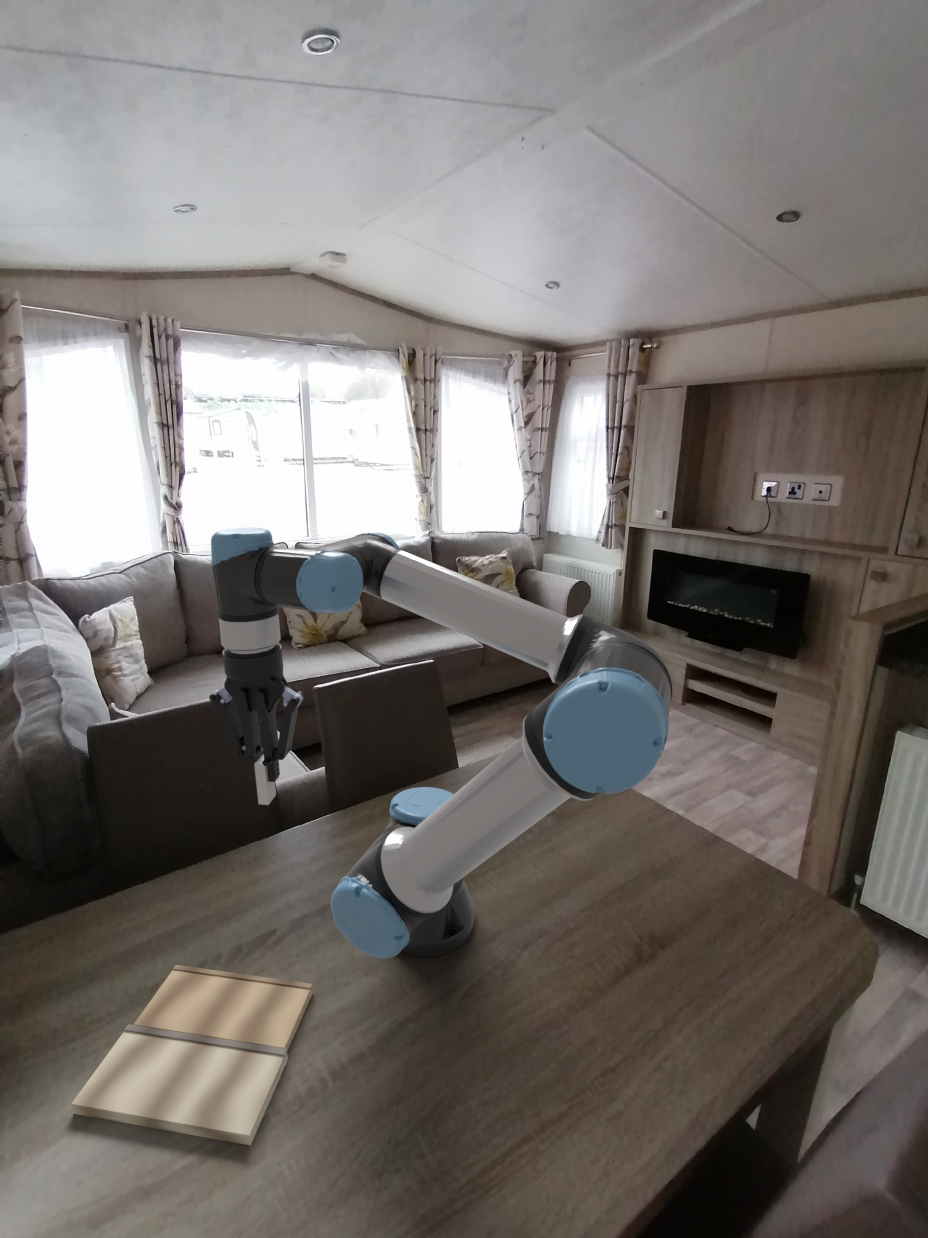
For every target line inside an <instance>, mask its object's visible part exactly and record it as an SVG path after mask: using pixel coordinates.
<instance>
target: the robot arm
mask: <svg viewBox="0 0 928 1238" xmlns="http://www.w3.org/2000/svg"><path fill="white" fill-rule="evenodd" d="M210 539H211V540H210V547H211V548H210V549H211V550H210V551H211V564H210V566H211V569H212V574H213V580H214V581H213V583H214V587H215V588H214V589H215V595H216V596H215V597H216V604H217V614H218V615H217V616H218V622H219V624H218V625H219V634H220V643H221V646H222V647H223V648H224V649H223V650H222V659H223V668H224V674H225V675H226V678H225V680H224V684H223V687H219V688H217V690H215V691H214V692H212V693H211V694H210V695H209V696H208V699H209V701H210V702H211V704H213V706H214V708H216V710H217V712H218V715H219V717H220V720H221V723H222V726H223V728H224V731H225V734H226V737H227V739H228V742H229V745H230V747H231V751H232V753H233V755H234V757H236V758H238V759H239V758H244V759H246V762H248V769H249V770H248V771H249V778H250V780H251V782H254V781H255V784H256V793H257V794H256V795H257V802H258V805H262V806H263V805H265V806H269V805H270V804H271V803H272V801H273V799H274V798H275V797H276V795H277V790H276V781H277V780H278V779H279V777H280V774H281V772H280V771H281V770H280V761H283V760H284V759H285V758H286V757H287V756H288V754H289V753H290V751H292V746H293V742H294V741H293V740H294V734H295V729H296V724H297V717H298V711H299V706H300V705H301V704H302V702H303V700H304V699H305V693H304V691H302V690H301V691H300V690H299V691H294V690H293V689H291V688H290V687H289V685H288V682H287V679H286V678H285V676H284V661H283V660H284V659H283V650H282V649H283V648H282V644H281V643H279V642H280V641H281V640H282V639H281V629H280V628H281V627H280V618H279V617H280V616H279V608H284V609H290V610H291V609H294V610H299V611H306V612H307V611H309V612H314V613H315V614H317V613H319V614H322V615H323V614H345V613H348V612H349V611H351V610H352V609H353V608H354V607H355V605H356V603H357V602H358V601H359V600H360V597H362V596H361V595H362V592H363V593H366V594H368V595H370V596H373V597H376V598H377V599H380V600H383V601H385V602H386V601H387V603H391V604H393V605H395V606H397V607H400V608H402V609H405V610H407V611H408V612H412V613H414V614H416V615H418V616H420V617H423V618H424V619H427V620H429V621H432V622H433V623H436V624H439V625H441V626H443V627H444V628H448V629H450V630H453V631H455V632H457V633H459V634H461V635H464V636H466V637H468V638H471V639H473V640H475V641H477V642H480V643H482V644H484V645H487V646H488V647H491V648H493V649H496V650H497V651H500V652H502V653H505V654H506V655H510V656H511V657H514V658H516V659H519V660H521V661H523V662H525V663H527V664H529V665H532V666H534V667H537V668H538V669H541V670H543V671H546V672H547V673H548V675H549V677H550V679H551V682H552V683H553V684H556V685H558V687H557V688H556V689H554V690H553V691H552V692H551V693H550V694H548V696H547V697H546V698H545V699H543V700H542V701H541V702H540V703H539V704H537V705H536V706H535V707H534V708H533V709H532V710H531V711H529V712H527V714H526V715H525V717H524V718H523V721H522V736H521V737H520V738H519V739H517V740H516V741H514V743H513V744H512V745H510V746H509V747H508V748H507V749H505V751H503V752H502V753H500V754H499V755H498V756H497V757H496V758H495V759H494V760H492V761H491V762H490V763H489V764H487V766H485V767H484V768H483V769H482V770H481V771H480V772H478V773H477V774H476V775H475V776H474V777H473V778H472V779H470V780H469V781H468V782H467V783H465V784H464V785H463V786H462V787H461V788H460V789H459V790H458V791H456V792H455V793H453V792H450V791H448V790H446V789H442V788H439V787H432V786H431V787H429V786H420V787H419V786H418V787H412V788H411V787H410V788H408V789H404V790H401V791H400V792H399V793H397V794H396V795H394V797H392V799H391V801H390V805H389V806H390V807H389V808H388V809H389V810H388V811H389V812H388V813H389V815H390V816H389V817H390V818H389V819H390V820H389V823H388V824H387V826H386V828H385V829H384V830H383V831H382V833H380V835H379V836H378V837H377V838H376V839H375V840H374V841H373V843H372V844H371V845H370V847H368V849H367V850H366V851H365V852H364V854H363V855H361V857H360V858H359V859H358V860H357V862H356V863H354V866H353V867H352V868H351V869H350V870H349V871H348V872H347V874H345V876H343V877H342V878H341V879H339V881H338V885H337V886H336V887H335V889H334V891H333V893H332V895H331V897H330V911H331V913H332V919H333V921H334V924H335V925H336V927H337V929H338V930H339V932H340V933H341V935H342V936H343V937H344V938H345V940H347V942H349V944H351V945H352V946H354V947H353V948H356V949H358V950H359V951H360V952H362V953H364V954H367V955H369V956H371V957H373V958H376V959H377V958H378V959H390V958H393V957H396V956H397V955H399V954H400V953H401V952H402V953H405V954H407V955H411V956H415V957H423V958H424V957H425V958H426V957H427V958H429V957H437V956H442V955H445V954H448V953H450V952H453V951H454V950H456V949H457V948H459V947H461V945H463V944H464V943H465V942H466V941H467V940H468V939H469V937H470V935H471V934H472V931H473V928H474V922H475V921H474V917H475V908H474V903H473V900H472V898H471V895H470V892H469V890H468V887H467V884H466V881H465V876H467V875H468V874H469V873H471V872H472V871H474V870H475V869H476V868H477V867H479V866H480V865H482V864H483V863H484V862H486V861H488V859H490V858H491V857H492V856H494V855H495V854H496V853H497V852H499V851H500V850H502V849H503V848H505V847H506V846H507V845H508V844H510V843H511V842H513V841H514V840H515V839H517V838H518V837H520V835H522V834H523V833H525V832H526V831H527V830H528V829H530V828H531V827H532V826H534V825H536V823H538V822H539V821H540V820H542V819H544V818H545V817H546V816H548V815H549V814H551V812H553V811H554V810H555V809H557V808H558V807H559V806H561V805H562V804H563V803H565V802H567V800H569V799H570V798H572V799H576V800H578V801H591V800H593V799H595V798H596V797H598V796H599V795H600V794H601V793H605V795H608V794H611V795H612V794H617V793H621V792H624V791H627V790H629V789H631V788H633V787H635V786H637V785H639V784H640V783H641V782H642V781H644V780H645V779H646V778H647V777H648V776H649V775H650V774H651V773H652V771H653V770H654V768H655V767H656V765H658V762H659V760H660V758H661V757H662V754H663V751H664V750H665V747H666V744H667V741H668V735H669V734H668V733H669V727H670V726H669V719H670V718H669V717H670V711H671V710H670V708H671V703H672V700H673V692H674V688H673V687H674V686H673V679H672V674H671V672H670V669H669V666H668V664H667V663H666V661H665V659H664V658H663V657H662V655H660V654H661V653H659V652H658V651H657V650H656V649H655V648H654V647H653V646H651V645H650V644H649V643H647V642H646V641H644V640H642V639H641V638H639V637H637V636H635V635H633V634H631V633H628V632H626V631H624V630H622V629H619V628H617V627H615V626H612V625H610V624H607V623H604V622H602V621H600V620H597V619H594V618H593V617H590V616H587V615H585V614H582V613H580V614H577V615H576V616H573V617H568V616H566V615H563V614H560V613H559V612H556V611H554V610H551V609H549V608H546V607H544V606H541V605H539V604H536V603H533V602H531V601H529V600H526V599H523V598H521V597H518V596H517V595H514V594H511V593H509V592H507V591H504V590H501V589H499V588H496V587H494V586H492V585H489V584H487V583H485V582H482V581H479V580H476V579H474V578H471V577H470V576H469V577H468V576H466V575H464V574H461V573H458V572H457V571H454V570H451V569H449V568H446V567H444V566H441V565H439V564H437V563H434V562H432V561H428V560H427V559H424V558H422V557H418V556H417V555H414V554H412V553H409V552H407V551H406V550H405V551H404V550H402V549H400V546H399V545H398V543H396V541H395V540H394V539H393V538H392V537H391V536H389V535H388V534H385V533H383V532H368V533H364V532H363V533H360V534H359V533H358V534H357V535H355V536H351V537H349V538H345V539H341V540H337V541H334V542H330V543H326V544H322V545H319V546H314V547H311V548H288V547H287V548H286V547H278V546H275V542H274V541H273V535H272V532H271V531H270V530H269V529H266V528H262V527H234V528H232V527H231V528H228V529H226V528H225V529H221V530H218V531H216V532H215V533H214V534H213V535H212V536H211V538H210ZM281 698H283V706H284V709H283V713H282V718H281V722H280V723H281V724H280V729H279V733H278V723H277V709H278V707H277V704H278V702H280V699H281ZM235 703H236V704H237V706H238V709H237V706H236V704H235ZM238 710H239V712H238ZM262 753H263V754H262Z"/></svg>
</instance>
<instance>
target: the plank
mask: <svg viewBox="0 0 928 1238" xmlns="http://www.w3.org/2000/svg"><path fill="white" fill-rule="evenodd" d="M313 995H314V986H313V983H309V982H308V983H307V982H301V981H293V980H288V979H287V980H286V979H280V978H274V977H273V978H272V977H266V976H259V975H251V974H246V973H245V974H244V973H237V972H231V971H223V970H217V969H211V968H208V969H207V968H201V967H194V966H189V965H180V964H175V965H174V966H173V968H172V970H171V971H170V973H169V975H168V976H167V977H166V979H165V980H164V981H163V983H162V984H161V985H160V986H159V988H158V990H157V991H156V993H154V995H153V997H152V998H151V999H150V1001H149V1002H148V1004H147V1005H146V1006H145V1008H144V1009H143V1011H142V1012H141V1014H140V1015H139V1016H138V1018H137V1019H136V1020H135V1021H134V1023H133V1025H137V1026H144V1027H150V1028H157V1029H163V1030H169V1031H176V1032H182V1033H189V1034H195V1035H201V1036H208V1037H214V1038H221V1039H227V1040H233V1041H240V1042H246V1043H252V1044H259V1045H265V1046H272V1047H278V1048H284V1049H287V1052H288V1051H289V1048H290V1047H291V1045H292V1042H293V1040H294V1037H295V1035H296V1033H297V1031H298V1029H299V1026H300V1024H301V1022H302V1019H303V1017H304V1015H305V1013H306V1009H307V1008H308V1005H309V1003H310V1001H311V999H312V996H313Z"/></svg>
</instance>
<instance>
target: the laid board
mask: <svg viewBox="0 0 928 1238" xmlns="http://www.w3.org/2000/svg"><path fill="white" fill-rule="evenodd" d="M288 1060H289V1057H288V1051H287V1049H284V1048H278V1047H272V1046H265V1045H259V1044H252V1043H246V1042H240V1041H233V1040H227V1039H221V1038H214V1037H208V1036H201V1035H195V1034H189V1033H182V1032H176V1031H169V1030H163V1029H157V1028H150V1027H144V1026H137V1025H134V1024H130V1023H128V1024H127V1025H126V1027H125V1028H124V1030H123V1032H122V1034H121V1035H120V1037H119V1038H118V1039H117V1040H116V1042H115V1043H114V1045H113V1046H112V1047H111V1049H110V1050H109V1051H108V1053H107V1055H106V1056H105V1057H104V1059H102V1061H101V1062H100V1064H99V1065H98V1067H97V1068H96V1070H95V1071H94V1072H93V1073H92V1074H91V1076H90V1078H89V1079H88V1080H87V1082H86V1083H85V1084H84V1086H83V1087H82V1088H81V1090H80V1091H79V1092H78V1094H77V1095H76V1097H75V1098H74V1099H73V1101H72V1102H71V1108H72V1112H73V1113H72V1114H74V1115H78V1116H84V1117H90V1118H95V1119H101V1120H106V1121H112V1122H117V1123H122V1124H129V1125H134V1126H139V1127H145V1128H151V1129H156V1130H160V1131H161V1130H162V1131H167V1132H172V1133H178V1134H183V1135H190V1136H195V1137H202V1138H205V1139H211V1140H217V1141H222V1142H227V1143H228V1142H229V1143H234V1144H239V1145H245V1146H252V1144H253V1141H254V1140H255V1137H256V1134H257V1132H258V1129H259V1127H260V1126H261V1122H262V1120H263V1117H265V1114H266V1111H267V1109H268V1107H269V1104H270V1102H271V1100H272V1098H273V1096H274V1092H275V1091H276V1088H277V1086H278V1084H279V1082H280V1079H281V1076H282V1074H283V1072H284V1069H285V1067H286V1065H287V1064H288Z"/></svg>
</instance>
